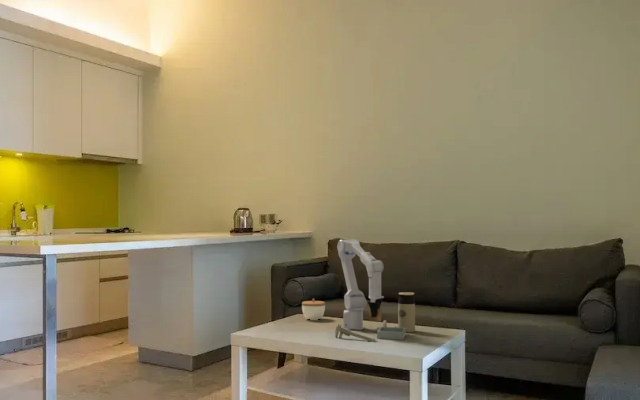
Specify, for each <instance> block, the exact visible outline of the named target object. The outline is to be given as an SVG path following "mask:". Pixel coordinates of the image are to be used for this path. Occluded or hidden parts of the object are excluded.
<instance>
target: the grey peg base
mask: <svg viewBox="0 0 640 400" xmlns="http://www.w3.org/2000/svg"><path fill="white" fill-rule="evenodd" d="M382 322H383V326H382V327H388V325H387V324H388V323H387V320H385V319H384V320H383V321H382ZM380 327H381V326H378V327H377V328H376V329H375V333H377V331H378V330H379V328H380Z"/></svg>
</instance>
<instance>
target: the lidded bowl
mask: <svg viewBox="0 0 640 400" xmlns="http://www.w3.org/2000/svg"><path fill="white" fill-rule="evenodd" d="M315 299H316V298H312V300H305V301H302V302H301V310H302V315H303V316H304V318H305V319H306V320H307V319H310V320H309V321H319V320H318V319H320V320H321V319H322V318H323V316H324V314H325V311H326V310H325V309H326V301H322V300H315Z"/></svg>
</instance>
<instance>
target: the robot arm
mask: <svg viewBox="0 0 640 400" xmlns="http://www.w3.org/2000/svg"><path fill="white" fill-rule="evenodd" d="M336 248H337V249H336V250H337V252H338V257H339V258H340V261H341V262H340V263H341V266H342V267H341V268H342V270H343V275H344V279H345V285H346V288H347V292H346V293H344V296H343V298H344V301H343V302H344V307H345V308H346V309H344V310H343V316H342V317H343V319H342V320H343V321H342V322H343V323H342V325H343V326H342V328H345V329H348V330H358V331H362V330H363V329H365V325H364V316H363V315H364V310H365V308H366V307H367V305H368V307H369V310H371V315H372V317H377V312H378V309H381V304H382V302H383V299H384V298H385V296H384V295H382V273H383V271H384V268H385V267H384V266H385V265H384V263H383V261H382V260H380V259H379V260H378V259H376V258H375V257H374V256H373V255H372V254H371V252H370V251H365V250H364V249H363V248H362V246H361V243H360V241H359V240H357V239H356V238H355V239H339V240H338V241H337V246H336ZM356 255H357V256H358V257H359V260H360V262H361V263H362V264H363V265H364V266H365V268H366V271H367V277H368V299H370V300H368V301H367V299H366V297H365V294H364V292H363V291H361V290H360V289H359V287H358V282H357V278H356V277H357V276H356V274H355V269H354V264H353V260H352V259H354V258H355V257H356Z"/></svg>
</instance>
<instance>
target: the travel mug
mask: <svg viewBox="0 0 640 400" xmlns="http://www.w3.org/2000/svg"><path fill="white" fill-rule="evenodd" d="M398 295H399V297H398V300H397V302H398V303H397V313H398V314H397V320H398V322H397V325H398V327H397V328H406V333H414V332H415V331H416V300H415V298H414V296H415V292H406V291H405V292H404V291H403V292H398Z"/></svg>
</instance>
